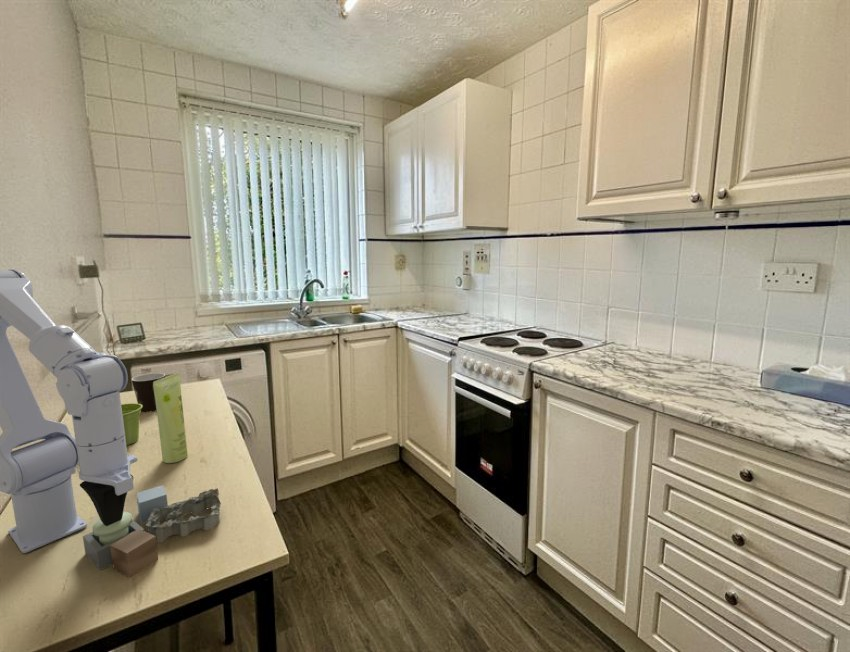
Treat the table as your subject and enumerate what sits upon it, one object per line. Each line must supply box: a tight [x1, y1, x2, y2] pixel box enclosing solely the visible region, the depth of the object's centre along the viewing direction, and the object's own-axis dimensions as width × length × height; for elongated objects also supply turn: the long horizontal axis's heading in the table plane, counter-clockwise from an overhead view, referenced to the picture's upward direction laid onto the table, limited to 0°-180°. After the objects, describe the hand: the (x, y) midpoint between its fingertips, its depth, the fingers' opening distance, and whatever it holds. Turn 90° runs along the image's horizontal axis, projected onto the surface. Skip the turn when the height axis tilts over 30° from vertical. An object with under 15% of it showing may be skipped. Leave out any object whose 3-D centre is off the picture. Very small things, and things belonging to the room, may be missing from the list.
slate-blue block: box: [135, 484, 169, 525], centre depth 72 cm, size 4×4×4 cm
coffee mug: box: [131, 372, 166, 413], centre depth 124 cm, size 12×9×10 cm
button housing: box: [82, 519, 145, 571], centre depth 63 cm, size 6×6×3 cm
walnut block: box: [110, 529, 159, 579], centre depth 60 cm, size 4×4×4 cm
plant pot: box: [121, 402, 143, 447], centre depth 101 cm, size 9×9×9 cm
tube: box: [153, 371, 188, 464], centre depth 91 cm, size 6×5×20 cm
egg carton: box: [145, 488, 222, 544], centre depth 69 cm, size 11×8×4 cm
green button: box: [91, 511, 133, 546], centre depth 63 cm, size 5×5×4 cm
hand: (112, 521), depth 63 cm, fingers closed, pressing on green button
